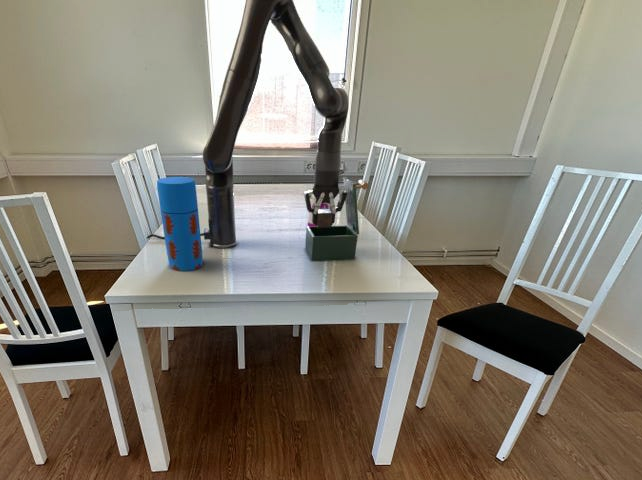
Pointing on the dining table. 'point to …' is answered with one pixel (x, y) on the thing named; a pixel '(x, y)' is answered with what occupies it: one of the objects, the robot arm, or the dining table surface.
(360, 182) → the tin lid
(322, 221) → the walnut block
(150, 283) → the dining table surface
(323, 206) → the supplement can
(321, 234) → the tea tin
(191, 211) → the thermos
